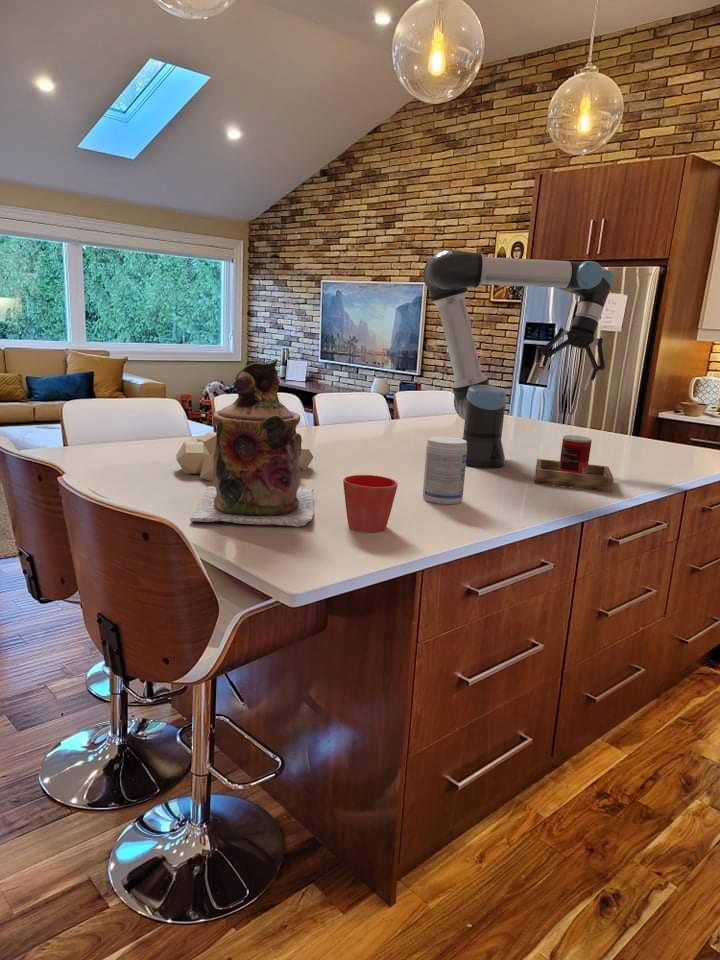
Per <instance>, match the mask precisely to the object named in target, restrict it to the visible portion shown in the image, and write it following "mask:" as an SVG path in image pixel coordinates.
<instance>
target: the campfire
mask: <svg viewBox="0 0 720 960" xmlns="http://www.w3.org/2000/svg"><path fill="white" fill-rule="evenodd" d="M216 440H217V438H216V431H214V432H213V431H212V432H207V433H205V434H204V435H202V436H199V437H198V438H196V441H184V442H183V443H182V444H181V446H180V448H179V449H178V451H177V453H176V454H175V457H176V461H177V463H178V465H179V466H180V468H181V469H182V471H183V473H184V474H185V473H187V475H200V476H199V478H200V479H203V480H207V481H210V482H213V465H214V464H213V454H214V451H215V448H216ZM301 447H302V452H301V455H300V456H299V457H298V458H299V465H300V471H306V470H307V469H308V468H309V465H310V464H311V462H312V461H313V459H314V455H313V454H312V451H310V448H309V447H308V444H307V443H306V441H304V440H303V439H302V443H301Z"/></svg>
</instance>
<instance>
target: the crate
mask: <svg viewBox="0 0 720 960" xmlns="http://www.w3.org/2000/svg"><path fill="white" fill-rule="evenodd" d="M559 464H560V460H554V459H553V460H551V459H544V458H537V459H536V466H535V471H534V473H535V474H534V475H535V476H534V484H535V483H536V484H537V485H543V484H544V485H545V486H552V485H555V486H554V487H560V486H565V487H564V488H568V487H573V488H572V489H577V488H579V489H580V490H585V489H587V491H594V490H595V491H594V492H602V491H603V492H602V493H611V494H612V491H613V486H614V485H613V484H614V476H613V473H612V472H611V469H610V467H609V466H607V465H598V464H589V463H588V469H587V474H581V473H572V472H563V471H559ZM536 484H535V485H536Z"/></svg>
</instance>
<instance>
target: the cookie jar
mask: <svg viewBox="0 0 720 960" xmlns="http://www.w3.org/2000/svg"><path fill="white" fill-rule="evenodd" d="M278 361H279V360H278V359H277V358H274V359H273V360H272V361H270V362H253V363H249V364H247V365H246V366H244V367H243V368H242V369H241V370H239V372H238V373H237V375H236V377H235V380H234V382H233V388H234V389H235V390H236V393H237V396H238V397H237V398H236V400H235V401H233V402H232V403H231V404H229V405H227V406H225V407H223V408H221V409H219V410H217V411H214V413H213V416H212V420H213V422H214V424H215V425H216V428H215V429H216V430H215V432H216V438H217V440H216V448H215V451H214V454H213V464H214V465H213V481H212V482H213V486H207V487H206V489H205V491H204V495H203V496H202V497H201V498H200V500H199V501H198V503H197V506H196V508H195V511H194V512H193V513H192V514H191V516H190V517H189V520H190V522H191V523H193V522H204V523H211V522H212V523H213V522H222V521H223V522H227V523H235V524H243V525H244V524H245V525H267V526H268V525H269V526H291V527H296V528H300V527H303V526H305V525H306V524H308V523H309V522H311V521H312V520H313V518H314V515H315V512H314V511H315V507H314V498H313V494H314V488H313V487H305V488H304V487H303V488H299V486H300V476H301V470H300V465H299V458H298V457H299V456H300V455H301V452H302V447H301V443H302V440H303V437H302V435H301V434H300V433H299V432H298V433H297V430H296V429H297V426H298V425H299V424H300V421H301V415H300V414H298V413H297V412H294V411H291V410H289V409H288V408H287V407H286V406H285V405H284V404H283V403H282V402H281V401H280V400H279V396H278V391H279V388H280V383H281V382H280V379H279V378H278V370H277V369H276V367H277V363H278Z"/></svg>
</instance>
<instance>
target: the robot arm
mask: <svg viewBox="0 0 720 960" xmlns="http://www.w3.org/2000/svg"><path fill="white" fill-rule="evenodd" d="M422 275H423V276H422V278H423V282H424V284H425V286H426V287H427V289H428V292H429V297H430V300H431V303H432V304H434V305H435V306H436V307H437V308H438V313H439V316H440V317H439V318H440V321H441V325H442V330H443V334H444V338H445V343H446V347H447V351H448V355H449V359H450V363H451V368H452V372H453V376H454V381H453V383H452V385H451V388H452V393H453V397H454V398H453V406H454V410H455V412H456V413H457V415H458V416H459V417H460V418H461V419H463V420H464V421H463V422H464V423H463V433H462V434H463V435H462V438H461V439H463V440H466V441H467V456H466V466H469V467H475V468H476V467H477V468H485V469H488V468H489V469H491V468H501V467H504V466H505V461H506V457H505V453H504V452H505V451H504V447H503V441H502V436H503V427H504V420H505V413H506V412H505V411H506V404H507V393H506V391H505V390H504V389H503V388H502V387H498V386H495V385H490V382H489V378H488V376H487V375H485V374H483V373H482V369H481V366H480V361H479V355H478V353H477V347H476V343H475V339H474V334H473V329H472V325H471V322H470V317H469V312H468V307H467V304H466V300H465V299H466V297H467V295H468V293H469V291H468V288H480V287H481V286H482V285H489V286H490V285H492V286H493V285H494V286H512V287H514V286H515V287H535V288H539V287H540V288H555V289H559V290H561V291H562V290H563V291H565V292H567V293H571V294H573V295H576V296H579V297H580V299H579V303H578V306H577V308H576V312H575V316H574V317H573V320H572V323H571V325H570V329H569V330H566V329H564V327H560V328H559V329H558V332H557V333H556V335H554V336H553V337H552V338H551V339H550V340H549V341H548V342H547V343H546V344H545V345H544V346H543V348H541V350H540V353H541V355H542V356H544V359H543V362H542V364H541V365H542V368H544V369H543V372H542V375H541V379H545V377H546V375H547V373H548V369H549V366H550V363H551V360H552V356H554V355H555V354H557V353H559V352H560V351H562V350H563V349H564V348H566V347H568V346H571V347H572V348H577V349H580V350H582V349H583V350H585V352H586V355H587V356H588V359H589V361H590V364H591V366H592V367H593V368H590V372H589V375H588V377H587V380H586V382H585V385H584V389H583V390H584V391H587V390H588V386H589V385H590V381H594V380H595V379H596V376H597V373H598V371H605V369H606V366H605V359H604V353H603V341H604V339H603V338H602V337H599V338H597V337H595V334H596V331H597V328H598V324H599V321H600V319H601V317H602V313H603V310H604V307H605V305H606V302H607V299H608V297H609V294H610V291H611V289H612V285H613V282H614V278H615V276H614V273H613V272H612V271H611V270H609V269H607V268H602V265H601V264H599V263H598V262H596V261H594V260H593V261H592V260H586V261H569V260H554V259H553V260H550V259H549V260H548V259H533V258H532V259H531V258H513V257H510V258H509V257H492V256H485V255H484V254H483V253H482V252H473V251H472V252H471V251H465V250H459V249H445V250H441V251H440V252H438V253H436V254H434V255H432V256H431V257H429V259H428V260H427V261H426V263H425V265H424V267H423V274H422ZM564 336H566V337H567V339H566V340H564V341H563V342H562V343H560V344H558V345H557V346H556V347H554V345H555V344H556V343H557V342H558V341H559V340H560V338H562V337H564ZM593 342H594V344H595V346H596V347H597V354H598V356H597V357H598V361H599V365H598V364H597V363H598V362H597V361H596V359H595V356H594V354H593V351H592V349H591V344H593ZM552 347H553V348H552ZM551 348H552V349H551ZM550 349H551V350H550Z"/></svg>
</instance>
